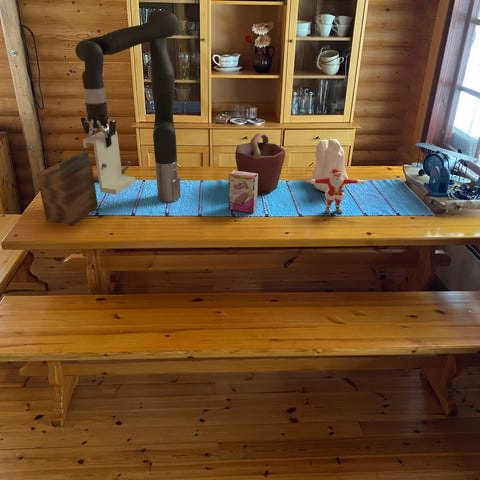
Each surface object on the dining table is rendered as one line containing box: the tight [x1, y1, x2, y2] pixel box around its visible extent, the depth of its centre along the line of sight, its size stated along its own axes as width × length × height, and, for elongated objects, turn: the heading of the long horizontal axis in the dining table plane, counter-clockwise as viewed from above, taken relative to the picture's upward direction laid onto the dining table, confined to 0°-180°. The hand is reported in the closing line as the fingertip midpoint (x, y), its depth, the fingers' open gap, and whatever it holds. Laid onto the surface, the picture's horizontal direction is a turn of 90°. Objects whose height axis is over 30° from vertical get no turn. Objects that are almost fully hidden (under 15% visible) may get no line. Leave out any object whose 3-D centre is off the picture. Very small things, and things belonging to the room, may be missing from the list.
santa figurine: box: [304, 169, 367, 214], centre depth 198 cm, size 25×6×19 cm, turn 90°
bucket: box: [234, 133, 286, 195], centre depth 219 cm, size 24×22×25 cm
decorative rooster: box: [311, 138, 349, 192], centre depth 221 cm, size 25×16×25 cm, turn 2°
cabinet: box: [36, 150, 99, 227], centre depth 191 cm, size 12×18×25 cm, turn 161°
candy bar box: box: [228, 169, 258, 214], centre depth 199 cm, size 11×5×16 cm, turn 71°
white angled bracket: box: [82, 130, 137, 195], centre depth 184 cm, size 12×14×20 cm
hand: (101, 145), depth 182 cm, fingers closed on white angled bracket, 5 cm apart
